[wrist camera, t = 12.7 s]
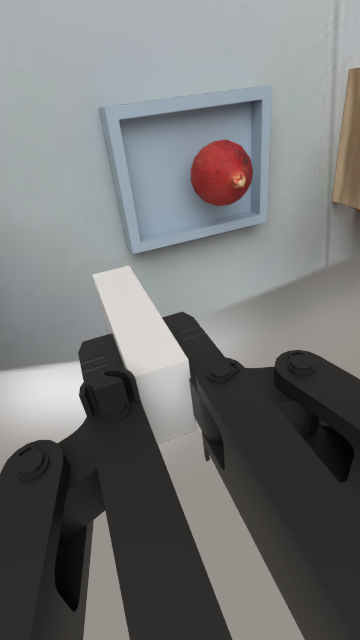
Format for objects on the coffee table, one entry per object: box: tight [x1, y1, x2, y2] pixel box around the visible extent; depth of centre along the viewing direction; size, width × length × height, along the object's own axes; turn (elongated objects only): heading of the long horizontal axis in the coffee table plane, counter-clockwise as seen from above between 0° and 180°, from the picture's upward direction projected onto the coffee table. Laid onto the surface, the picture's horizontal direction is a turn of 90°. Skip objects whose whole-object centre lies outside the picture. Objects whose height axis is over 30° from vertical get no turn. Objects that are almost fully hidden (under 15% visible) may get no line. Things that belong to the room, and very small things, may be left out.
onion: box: [191, 139, 253, 206], centre depth 33 cm, size 6×6×8 cm
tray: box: [99, 85, 272, 254], centre depth 35 cm, size 16×13×3 cm
